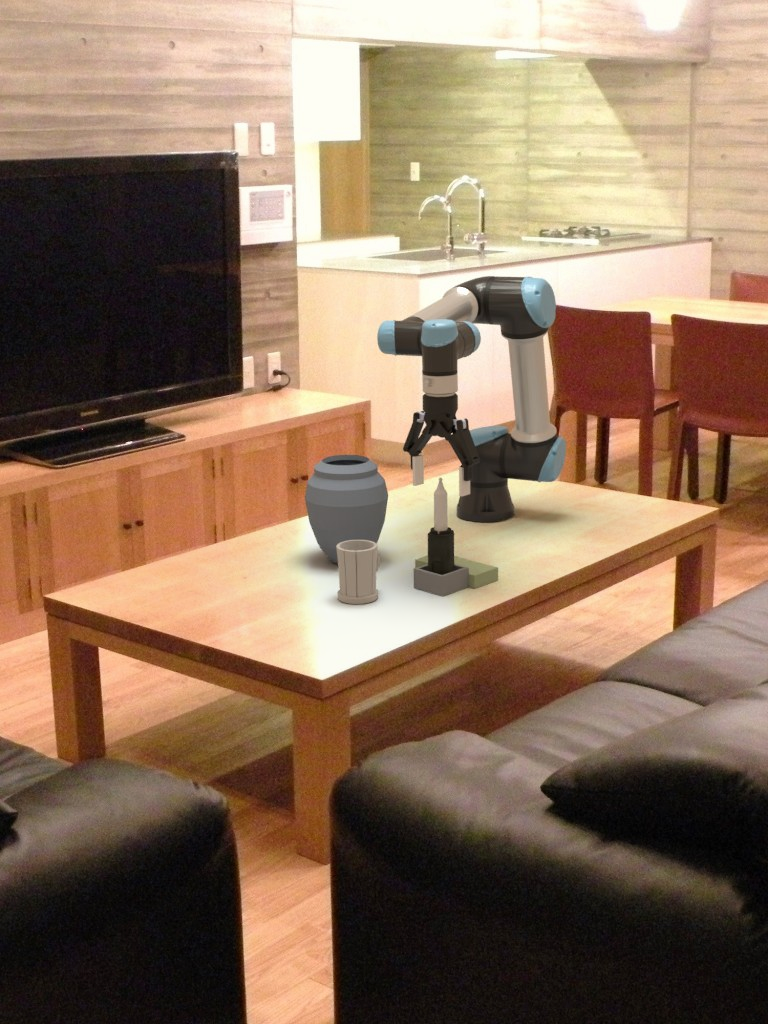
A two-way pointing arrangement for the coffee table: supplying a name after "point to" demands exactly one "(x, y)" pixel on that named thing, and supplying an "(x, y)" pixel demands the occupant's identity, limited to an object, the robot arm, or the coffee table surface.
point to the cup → (357, 571)
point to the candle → (440, 536)
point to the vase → (345, 501)
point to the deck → (453, 576)
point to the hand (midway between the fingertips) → (441, 489)
